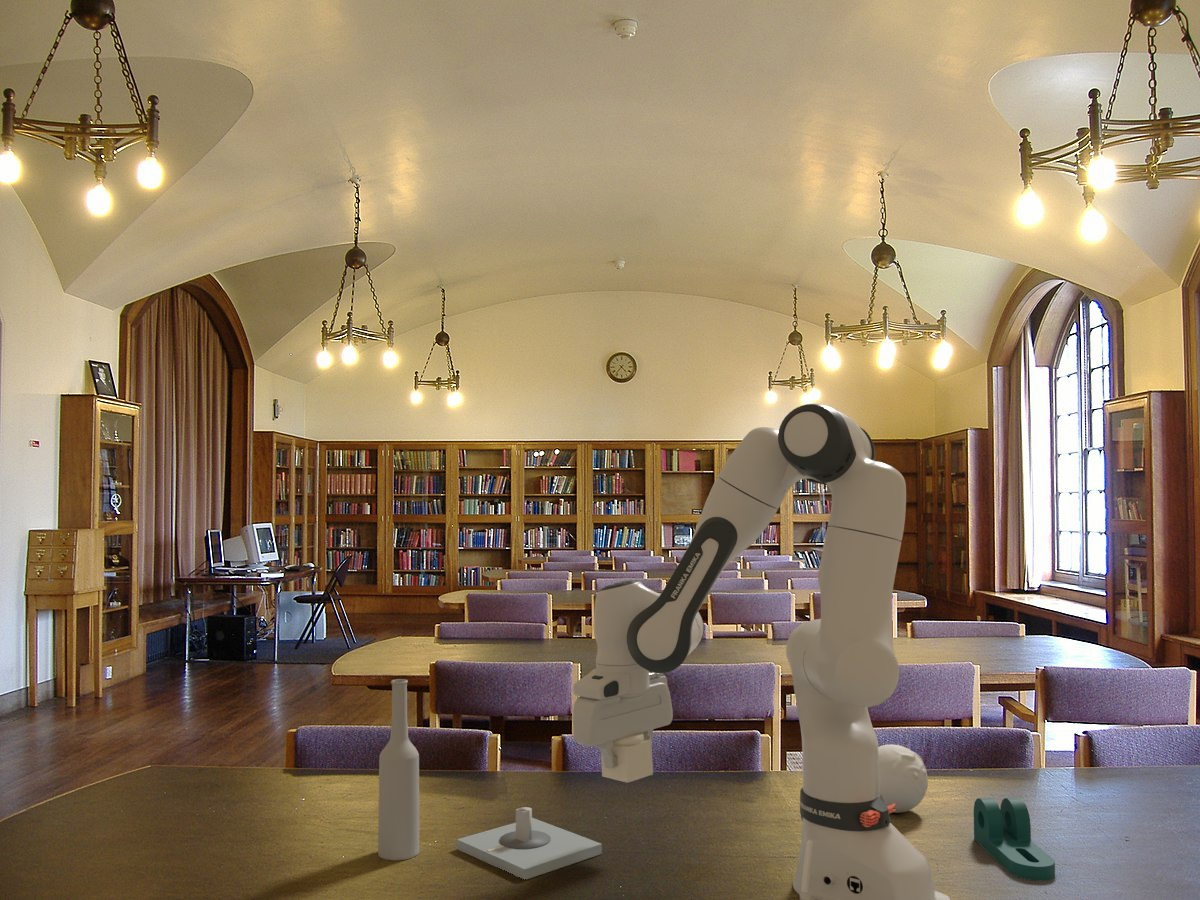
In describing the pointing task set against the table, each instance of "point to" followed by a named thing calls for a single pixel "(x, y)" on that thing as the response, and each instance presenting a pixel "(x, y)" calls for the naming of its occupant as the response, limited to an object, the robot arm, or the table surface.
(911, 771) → the decorative ball
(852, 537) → the robot arm
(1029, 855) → the bracket
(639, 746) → the knob
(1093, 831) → the table surface
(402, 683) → the bottle
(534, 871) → the panel
